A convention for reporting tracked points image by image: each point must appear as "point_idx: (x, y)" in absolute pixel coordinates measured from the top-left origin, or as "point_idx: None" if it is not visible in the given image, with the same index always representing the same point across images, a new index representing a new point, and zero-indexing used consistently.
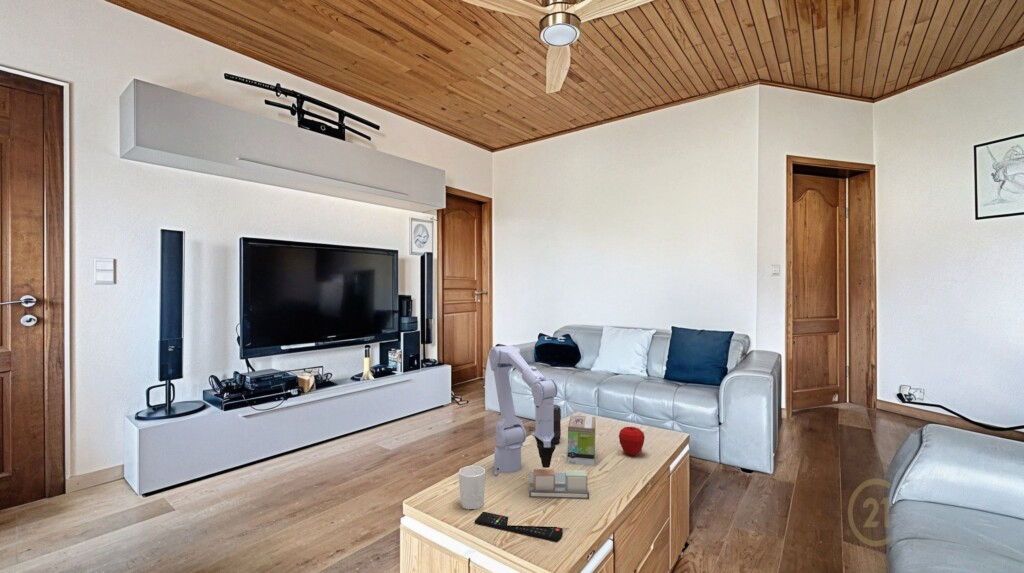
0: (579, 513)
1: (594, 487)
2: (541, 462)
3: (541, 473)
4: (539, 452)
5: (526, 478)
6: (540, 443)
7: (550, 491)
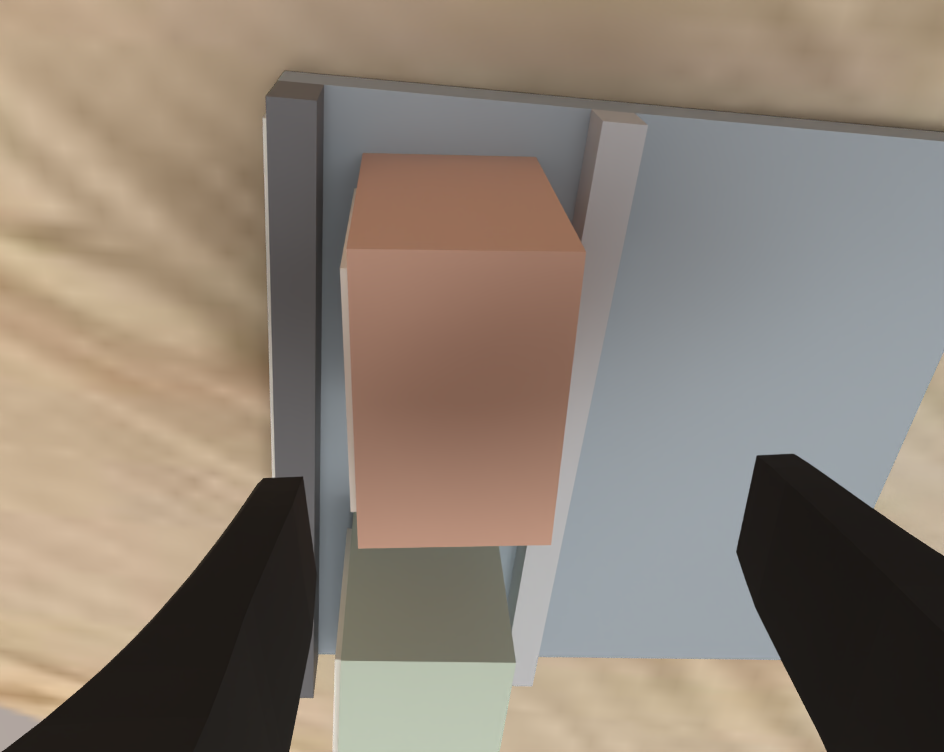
0: (84, 542)
1: (575, 684)
2: (282, 518)
3: (404, 373)
4: (807, 518)
5: (939, 74)
6: (929, 714)
7: (288, 376)
